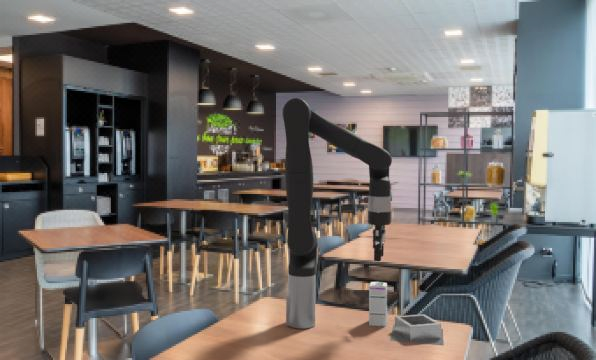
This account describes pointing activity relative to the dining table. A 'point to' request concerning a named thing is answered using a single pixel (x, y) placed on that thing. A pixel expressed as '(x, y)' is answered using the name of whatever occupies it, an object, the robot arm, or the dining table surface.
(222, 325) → the dining table surface
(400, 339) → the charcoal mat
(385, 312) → the syrup box
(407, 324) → the metal sleeve
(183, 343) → the dining table surface
